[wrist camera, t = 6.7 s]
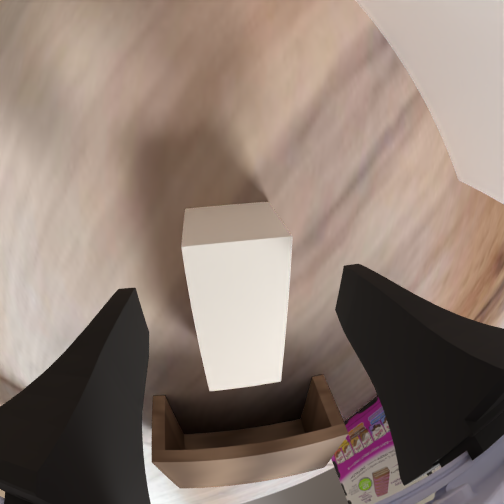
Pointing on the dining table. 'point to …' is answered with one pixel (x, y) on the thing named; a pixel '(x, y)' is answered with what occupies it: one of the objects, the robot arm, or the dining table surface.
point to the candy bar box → (370, 459)
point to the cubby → (248, 445)
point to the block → (238, 291)
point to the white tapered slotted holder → (455, 76)
